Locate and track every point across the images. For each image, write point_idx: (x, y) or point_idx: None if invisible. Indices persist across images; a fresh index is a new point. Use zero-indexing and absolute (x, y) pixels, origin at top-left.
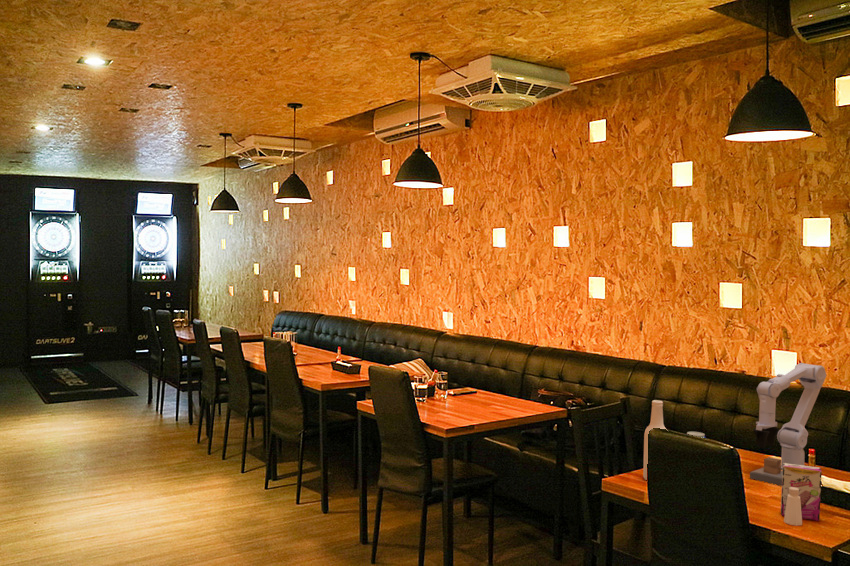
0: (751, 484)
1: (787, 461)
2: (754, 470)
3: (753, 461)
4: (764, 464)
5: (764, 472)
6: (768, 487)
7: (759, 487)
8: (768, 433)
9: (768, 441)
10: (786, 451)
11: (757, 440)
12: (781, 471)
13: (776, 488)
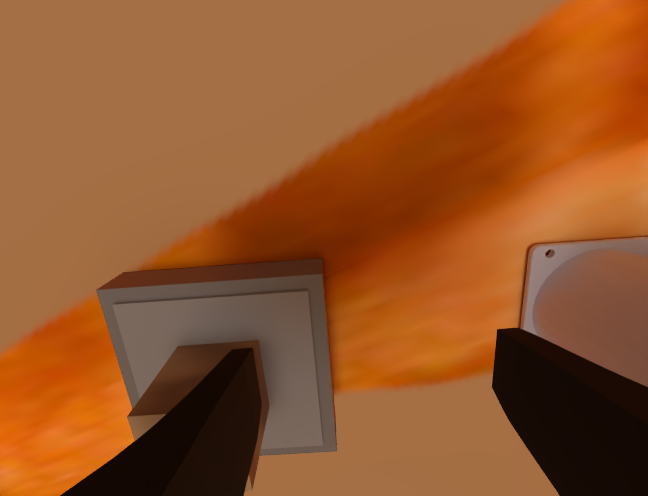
0: (29, 336)
1: (567, 335)
2: (166, 286)
3: (612, 28)
4: (152, 386)
5: (170, 355)
6: (77, 406)
7: (27, 384)
8: None
9: (527, 374)
10: (637, 379)
11: (174, 410)
12: (300, 397)
13: (103, 432)
